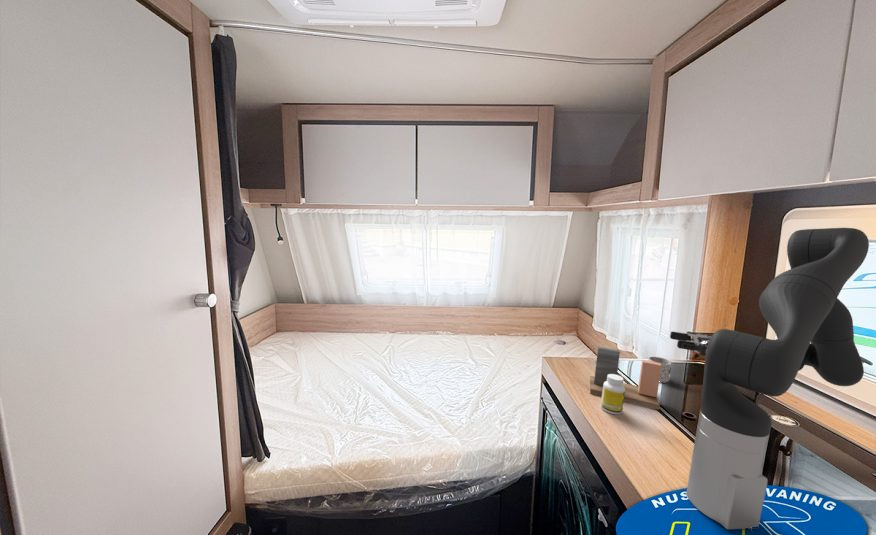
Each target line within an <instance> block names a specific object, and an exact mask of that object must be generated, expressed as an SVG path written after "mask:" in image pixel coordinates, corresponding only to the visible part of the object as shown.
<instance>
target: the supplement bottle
mask: <svg viewBox="0 0 876 535" xmlns="http://www.w3.org/2000/svg"><path fill="white" fill-rule="evenodd" d="M623 383H624V377H623V376H621V375H619V374H617V375H615V374H608V375H607V381H605V382H604V384H603V391H602V396H601V400H600V408H601V409H602V410H603V411H605V413H609V414H613V415H620V414H622V412H623V409H624V408H623V407H624V394H625V388H624V386H623V385H622V384H623Z"/></svg>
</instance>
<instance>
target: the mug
mask: <svg viewBox="0 0 876 535" xmlns="http://www.w3.org/2000/svg"><path fill="white" fill-rule="evenodd" d="M647 361H652V362H657V363H660V364H661V365H662V366H661V373H660V380H659V381H660V382H668V381H669V382H670V378H671V377H670V375H671V370H672V364H673V363H672V361H670V360H668V359H666V358H663V357H659V356H649V357H648V359H647ZM660 382H659V383H660ZM669 382H668V383H669Z"/></svg>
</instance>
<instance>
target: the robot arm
mask: <svg viewBox="0 0 876 535" xmlns="http://www.w3.org/2000/svg"><path fill="white" fill-rule="evenodd" d="M869 246H870V243H869V238H868V235H867V234H866V233H865V232H864V231H862V230H860V229H857V228H853V227H830V228H828V227H827V228H809V229H808V228H806V229H805V228H804V229H799V230H795V231H794V232H793V233H791V234H790V237H789V238H788V241H787V245H786V252H787V253H786V254H787V259H788V263H789V264H788V265H789V267H790V269H788V270H786V271H784V272H781V273H780V274H778V275H776V276H775V277H774V278H773V279H771V281H770V282H769V284H768V285H767V286H766V287H765V289H764V290H763V291H762V293H761V295H760V296H759V300H758V305H759V306H758V307H759V310H760V312H761V314H762V316H763V318H764V319H765V321H767V324H768V325H769V326H770V328H771V329H772V330H773V332H774V333H775V335H776V339H770V338H767V337H762V336H758V335H755V334H749V333H745V332H741V331H737V330H733V329H726V328H721V329H718V330H716V331H714V333H712V334H705V333H701V332H700V333H699V332H692V331H687V332H679V331H678V332H677V331H670V335H669V338H670V339H671V340H676V341H677V344H676V346H677V348H678V349H681V350H688V351H692V352H693V351H694V352H695V353H697V354H699V355H700V356H705V359H704V367H703V368H704V369H703V380H702V381H703V382H702V387H701V397H700V401H701V402H700V409H699V415H698V419H697V420H698V422H697V427H696V432H695V438H694V444H693V450H692V455H691V462H690V468H689V473H688V482H687V486H686V496H687V498H688V500H689V501H690V502H691V504H692V505H693V506H694V507H695V508H696V509H697V510H698V511H700V512H701V513H703V515H705V516H707V517H708V518H710V519H711V520H714V521H715V522H717V523H719V524H720V525H721V526H723V527H724V528H725V529H726V530H744V529H745V530H747V529H746V528H748V529H752V528H751V527H757V526H758V527H759V526H760V520H761V515H762V511H763V507H764V501H765V496H766V491H767V486H768V478H767V477H766V476H764V474H762V473H763V468H764V464H765V459H766V458H765V457H766V453H767V447H768V443H769V438H770V434H771V428H772V423H773V422H772V419H771V416H770V415H769V413H768V412H767V411H766V410H764V409H763V408H762V407H761V406H760V405H758V404H756V403H755V402H754V401H752V400H751V399H749V398H748V397H747V396H745V395H744V394H743V393H742V392H741V391H740V390H739V389H738V388H737V387H736V386H738V387H741V388H744V389H747V390H748V391H752V392H755V393H758V394H762V395H765V396H770V397H779V396H782V395H784V394H785V393H786V392H788V390H789V389H790V388H791V386H792V385H793V383H794V382H795V380H796V377H797V375H798V373H799V371H801V370H803V368H804V367H805V366H807V367H808V366H809V367H812V368H813V369H814V370H815V372H816V373H817V374H818V375H819V376H820V377H821V378H822V379H823V380H824V381H825V382H827V383H829V384H832V385H834V386H838V387H851V386H854V385H856V384H858V383H859V382H861V380H862V378H863V377H864V372H865V370H864V369H865V368H864V365H863V361H862V359H861V356H860V354H859V350H858V348H857V347H856V346H857V345H856V343H855V340H854V339H855V335H854V334H855V333H854V332H855V331H854V321H853V316H852V315H851V312H850V310H849V308H848V307H847V306H846V305H845V304H844V303H843V302H842V301H841V300H840V299H839V295H840V293H841V291H842V289H843V288H844V286H845V285H846V283H847V282H848V281H849V280H850V279H851V277H852V276H853V275H854V274H855V272H857V270H859V269H860V267H861V266H862V265H863V263H864V261H865V260H866V258H867V255H868V252H869Z"/></svg>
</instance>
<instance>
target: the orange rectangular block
mask: <svg viewBox="0 0 876 535" xmlns="http://www.w3.org/2000/svg"><path fill="white" fill-rule="evenodd" d="M661 366H662V365H661V364H660V363H657V362H652V361H648V360H646V359H645V360H644V359H642V360H641V365H640V373H639V381H638V385H637V386H638V392H639V394H644V395H648V396H653V397H657V398H658V393H659V392H658V391H659V385H660V382H659V380H660V373H661Z"/></svg>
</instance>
